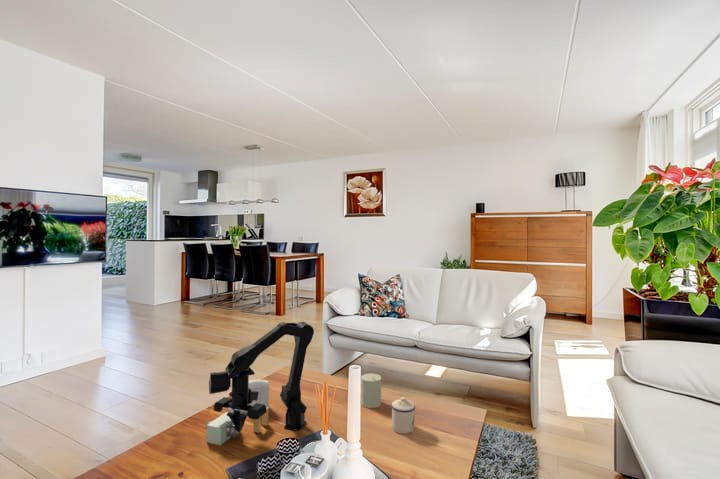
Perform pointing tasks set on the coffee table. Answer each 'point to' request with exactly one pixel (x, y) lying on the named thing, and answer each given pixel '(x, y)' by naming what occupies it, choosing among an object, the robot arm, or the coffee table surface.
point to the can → (371, 390)
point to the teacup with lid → (403, 415)
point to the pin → (229, 430)
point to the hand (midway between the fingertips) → (239, 431)
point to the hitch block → (219, 430)
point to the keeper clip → (264, 421)
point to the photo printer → (260, 391)
